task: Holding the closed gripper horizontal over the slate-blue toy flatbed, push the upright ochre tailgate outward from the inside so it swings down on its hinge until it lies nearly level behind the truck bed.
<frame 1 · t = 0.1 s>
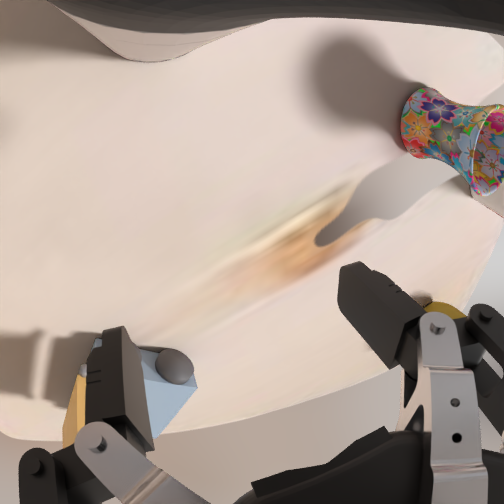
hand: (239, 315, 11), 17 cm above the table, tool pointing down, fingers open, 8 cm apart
mug: (426, 125, 30), on the table
flatbed: (83, 373, 33), on the table
flower pot: (421, 314, 53), on the table
milk bottle: (480, 176, 39), on the table
tailgate: (72, 452, 23), point 11 cm above the table, hinge at 0.0°
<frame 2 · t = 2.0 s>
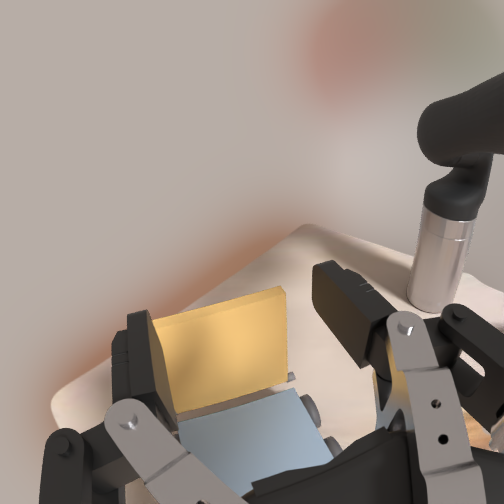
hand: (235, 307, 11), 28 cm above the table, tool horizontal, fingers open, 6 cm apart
flatbed: (240, 424, 35), on the table
tailgate: (222, 360, 30), point 11 cm above the table, hinge at 0.0°
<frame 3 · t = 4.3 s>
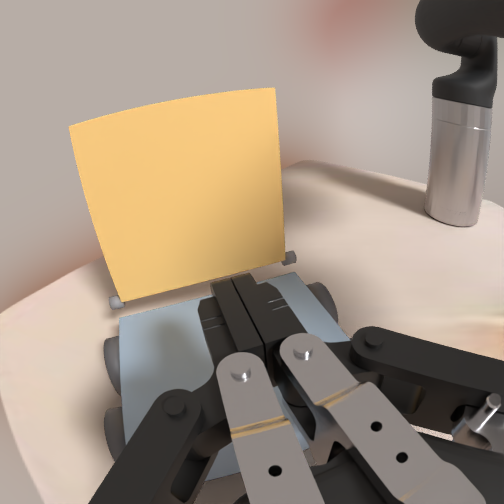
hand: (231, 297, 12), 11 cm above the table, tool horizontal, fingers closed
flatbed: (217, 336, 26), on the table
tailgate: (187, 201, 21), point 11 cm above the table, hinge at 0.0°
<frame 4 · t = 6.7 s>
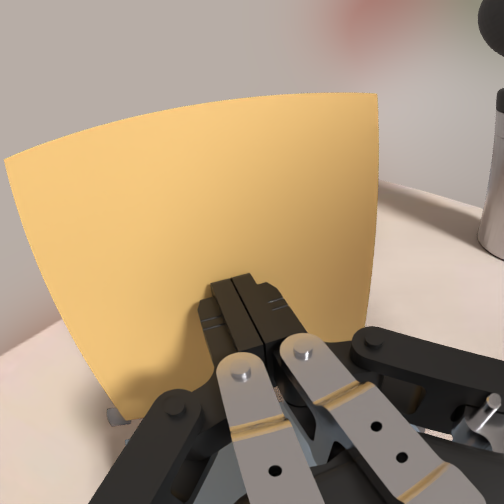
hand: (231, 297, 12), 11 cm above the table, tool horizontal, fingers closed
flatbed: (259, 443, 17), on the table
tailgate: (225, 285, 13), point 11 cm above the table, hinge at 2.9°, touching gripper
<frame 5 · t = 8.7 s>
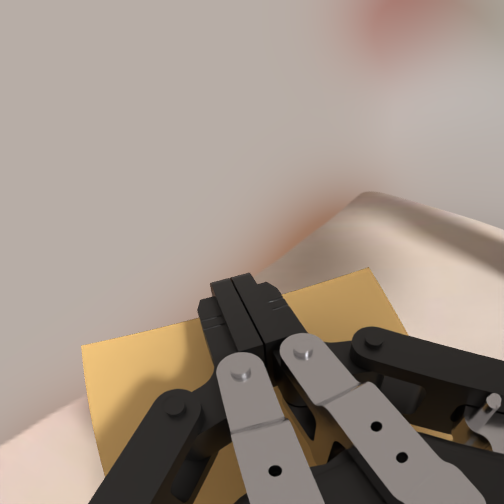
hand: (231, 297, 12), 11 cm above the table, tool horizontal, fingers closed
tailgate: (292, 473, 9), point 7 cm above the table, hinge at 67.4°, touching gripper
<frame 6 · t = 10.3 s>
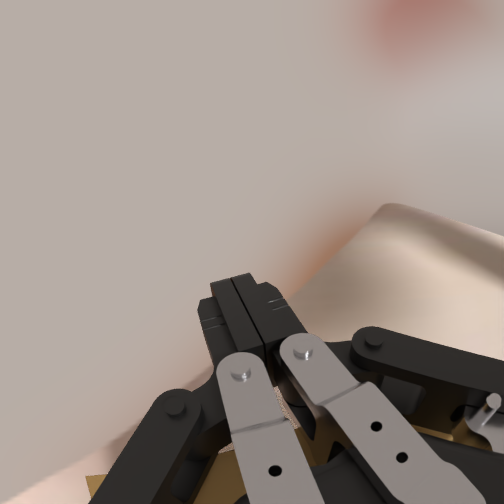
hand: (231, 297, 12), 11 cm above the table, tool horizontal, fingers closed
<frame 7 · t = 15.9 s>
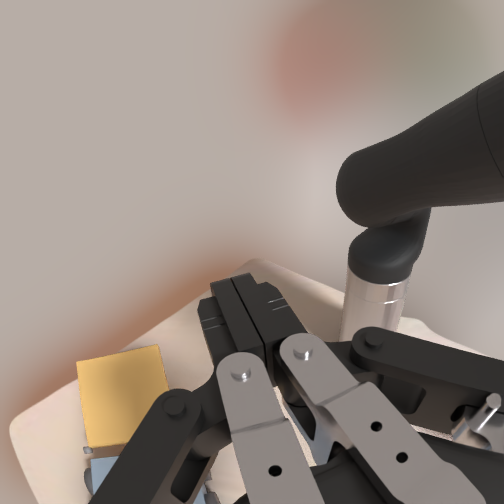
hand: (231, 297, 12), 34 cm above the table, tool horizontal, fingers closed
flatbed: (148, 464, 34), on the table
tailgate: (124, 400, 37), point 7 cm above the table, hinge at 70.3°
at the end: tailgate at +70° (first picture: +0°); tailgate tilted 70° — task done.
